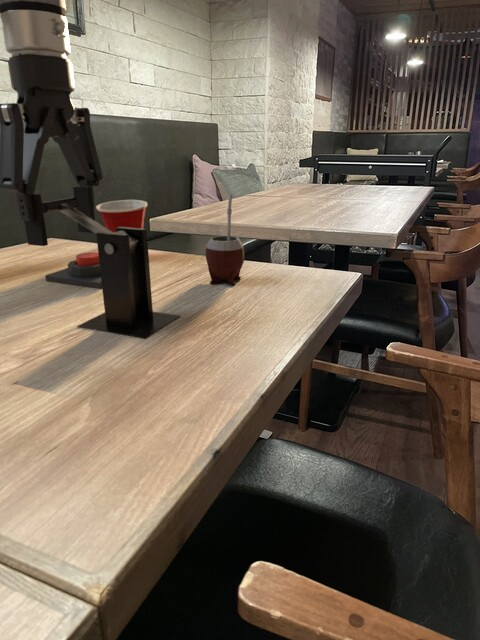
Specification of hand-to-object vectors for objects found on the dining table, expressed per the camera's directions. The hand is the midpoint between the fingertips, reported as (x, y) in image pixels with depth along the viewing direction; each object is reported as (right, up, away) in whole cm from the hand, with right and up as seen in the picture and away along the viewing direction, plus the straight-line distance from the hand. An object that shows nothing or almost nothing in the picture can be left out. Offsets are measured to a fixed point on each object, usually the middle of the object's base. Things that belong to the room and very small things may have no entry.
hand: (64, 237), depth 69 cm
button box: (-3, -5, +22) cm, 22 cm away
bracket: (+9, -13, 0) cm, 16 cm away
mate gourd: (+22, -4, +23) cm, 32 cm away
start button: (-3, -1, +20) cm, 21 cm away
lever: (+4, 0, -2) cm, 5 cm away
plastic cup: (-1, +2, +40) cm, 40 cm away
